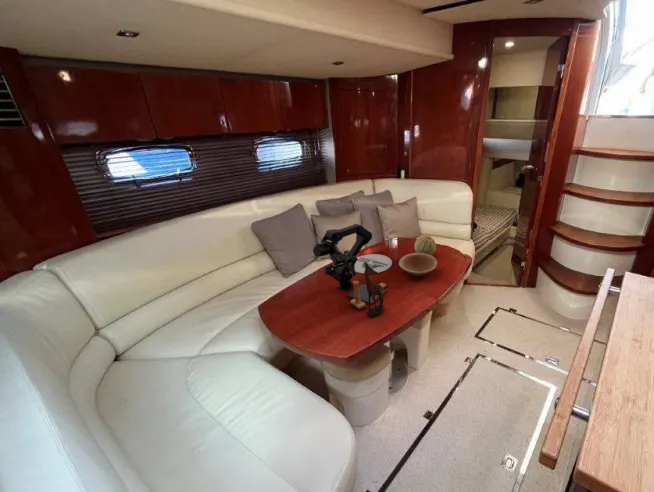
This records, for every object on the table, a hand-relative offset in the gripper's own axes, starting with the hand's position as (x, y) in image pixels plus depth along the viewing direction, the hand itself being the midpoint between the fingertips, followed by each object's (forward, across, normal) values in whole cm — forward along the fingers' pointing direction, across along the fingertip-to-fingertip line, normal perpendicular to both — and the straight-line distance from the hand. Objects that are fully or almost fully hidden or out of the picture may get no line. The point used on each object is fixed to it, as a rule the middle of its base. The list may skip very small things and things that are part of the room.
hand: (347, 279), depth 158 cm
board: (+10, +10, +9) cm, 17 cm away
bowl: (+11, +49, +8) cm, 51 cm away
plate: (-10, +34, +29) cm, 46 cm away
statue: (+23, +4, -3) cm, 23 cm away
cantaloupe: (+2, +68, +18) cm, 71 cm away
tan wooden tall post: (+15, 0, +4) cm, 15 cm away
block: (+10, +21, +9) cm, 25 cm away
